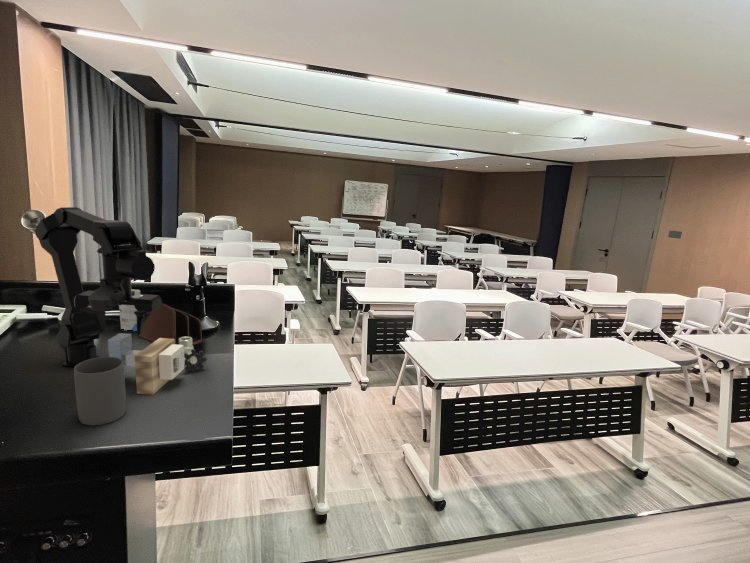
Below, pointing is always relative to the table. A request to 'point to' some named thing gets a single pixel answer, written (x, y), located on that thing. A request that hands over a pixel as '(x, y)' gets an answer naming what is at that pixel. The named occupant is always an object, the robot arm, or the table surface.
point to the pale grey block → (132, 351)
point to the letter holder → (171, 325)
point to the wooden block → (150, 367)
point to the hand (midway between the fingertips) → (121, 333)
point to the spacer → (169, 361)
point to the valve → (191, 354)
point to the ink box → (129, 314)
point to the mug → (100, 390)
